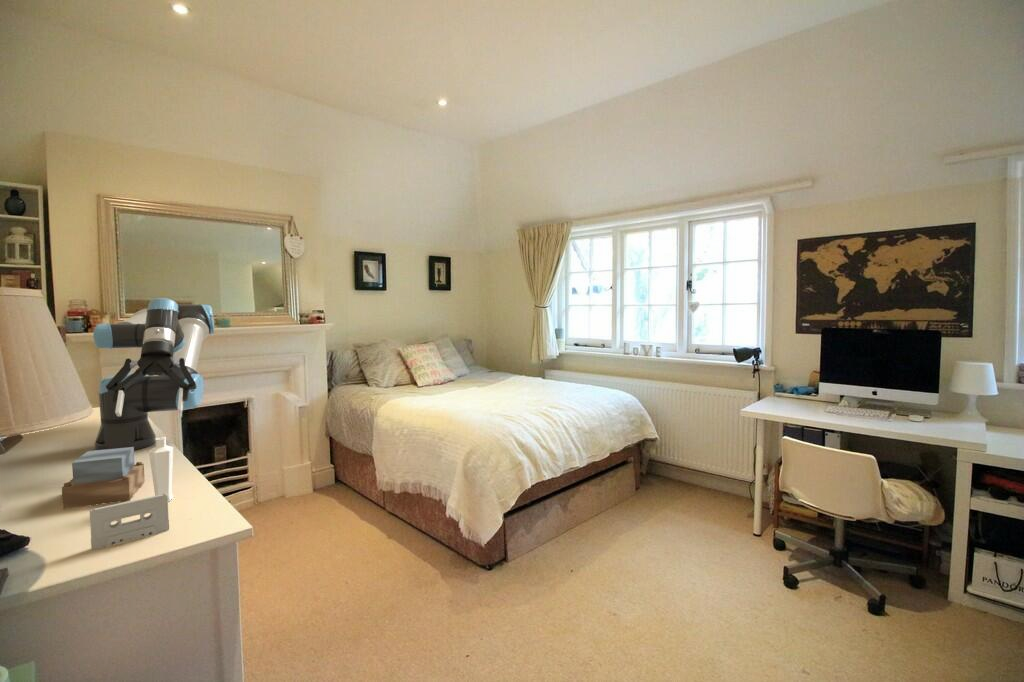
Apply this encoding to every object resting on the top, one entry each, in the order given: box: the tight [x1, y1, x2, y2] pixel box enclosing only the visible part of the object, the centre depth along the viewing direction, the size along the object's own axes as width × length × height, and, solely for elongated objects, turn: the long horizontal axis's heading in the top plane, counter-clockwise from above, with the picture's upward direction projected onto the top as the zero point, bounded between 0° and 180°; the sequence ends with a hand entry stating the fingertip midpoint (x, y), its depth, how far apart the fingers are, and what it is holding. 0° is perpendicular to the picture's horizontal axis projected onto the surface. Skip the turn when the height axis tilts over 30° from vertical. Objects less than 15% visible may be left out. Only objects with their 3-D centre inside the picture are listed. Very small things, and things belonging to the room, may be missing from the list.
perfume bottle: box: [148, 436, 174, 502], centre depth 110 cm, size 5×4×15 cm
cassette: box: [89, 494, 170, 551], centre depth 93 cm, size 12×2×8 cm, turn 132°
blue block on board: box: [61, 447, 145, 510], centre depth 113 cm, size 12×12×10 cm
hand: (149, 413), depth 129 cm, fingers open, 13 cm apart
